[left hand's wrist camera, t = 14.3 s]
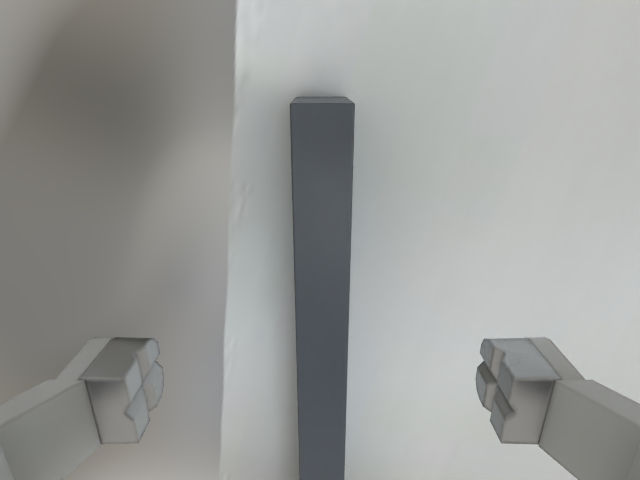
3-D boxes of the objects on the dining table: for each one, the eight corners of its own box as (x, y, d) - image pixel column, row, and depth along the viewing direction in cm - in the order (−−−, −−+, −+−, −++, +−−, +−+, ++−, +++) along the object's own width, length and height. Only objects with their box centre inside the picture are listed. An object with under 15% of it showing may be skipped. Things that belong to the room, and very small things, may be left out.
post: (295, 97, 34) (289, 103, 26) (346, 96, 34) (354, 103, 26) (305, 530, 53) (303, 605, 45) (337, 529, 53) (340, 605, 45)
